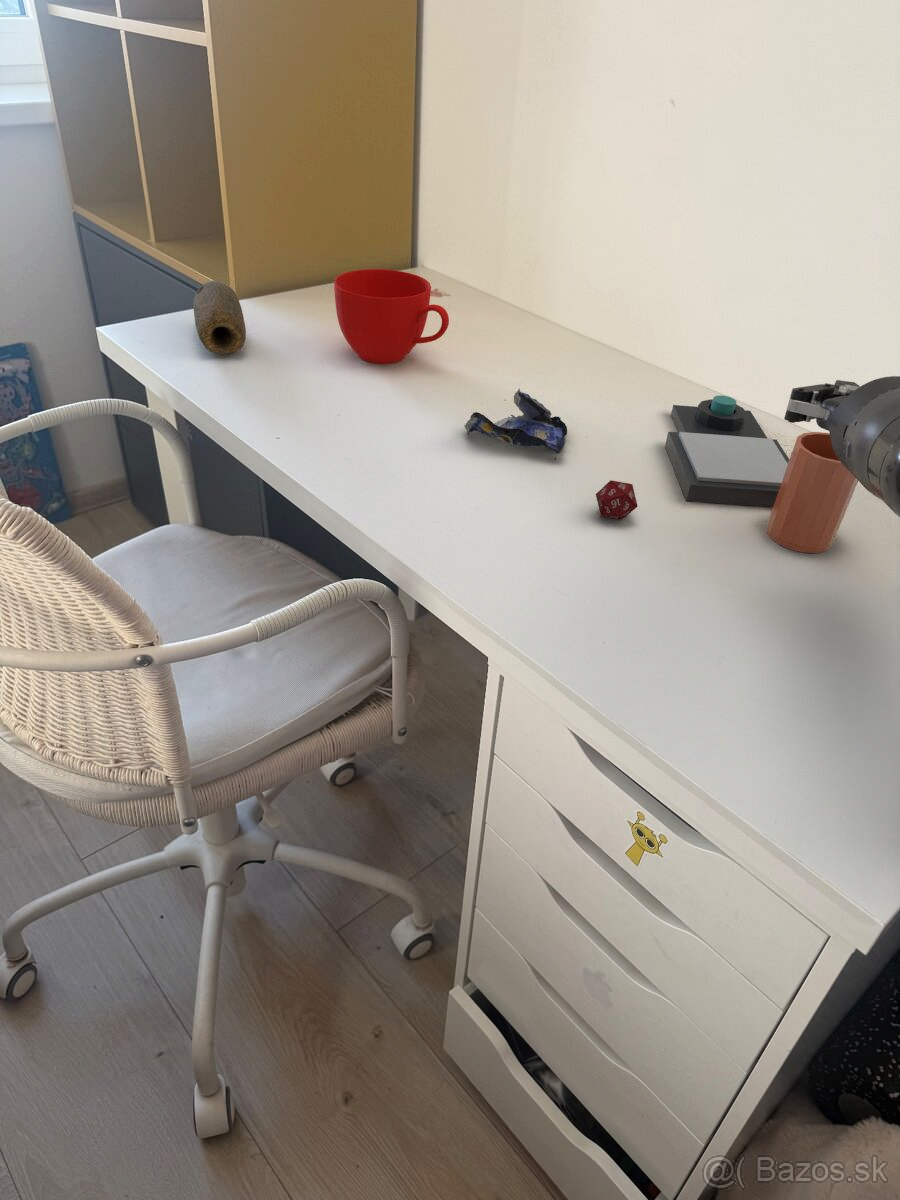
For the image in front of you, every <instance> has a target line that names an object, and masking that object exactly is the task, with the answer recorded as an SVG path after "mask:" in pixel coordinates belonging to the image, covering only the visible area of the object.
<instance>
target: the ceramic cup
mask: <svg viewBox="0 0 900 1200" xmlns="http://www.w3.org/2000/svg"><path fill="white" fill-rule="evenodd" d="M333 282H334V283H333V288H334V289H333V290H334V303H335V310H336V311H335V312H336V316H337V317H336V318H337V321H338V322H337V323H338V325H339V328H340V331H341V333H342V335H343V338H344V339H345V341H346V342H347V344H348V345H349V346H350V348H351V349H352V350H353V351H354V352H355V354H356V355H357V356H358V358H359V359H360V360H362V361H364V362H367V363H371V364H377V365H390V364H397V363H399V362H402V361H403V360H405V358H406V356H407V355H409V354H410V352H411V351H412V350H413V349H414V348H415V346H417V345H418V344H427V343H431V342H435V341H436V340H439V339H440V338H442V337H443V336H444V334H445V333H446V332H447V330H448V328H449V325H450V317H449V313H448V312H447V310H446V308H445V307H443V306H441V305H439V304H431V303H430V302H431V295H432V294H431V292H432V286H431V283H430V282H429V281H428V280H427V279H426V278H424V277H422V276H420V275H417V274H414V273H411V272H406V271H401V270H395V269H384V268H366V269H356V270H351V271H348V272H344V273H342V274H339V275H338V276H337V277H336V278H335V279H334V281H333ZM429 312H436V313H438V315H439V317H440V319H441V325H440V328H439V330H438V331H437V332H436V333H435V334H432V335H429V336H422V335H423V332H424V330H425V327H426V323H427V318H428V315H429Z"/></svg>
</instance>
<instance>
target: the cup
mask: <svg viewBox="0 0 900 1200" xmlns="http://www.w3.org/2000/svg"><path fill="white" fill-rule="evenodd" d="M858 483H859V481H858V480H857V479H856V478H855V477H854V476H853V475H852V474H851V472H850V471H849V470H848V469H847V468H846V467H845V466H844V465H843V464H842V463H841V462H840V460H839V459H838V458H837V456H836V454H835V452H834V450H833V447H832V443H831V438H830V433H829V432H821V431H809V432H803V433H801V434H799V435H797V437H796V439H795V442H794V445H793V448H792V451H791V454H790V456H789V462H788V465H787V468H786V470H785V473H784V476H783V479H782V482H781V485H780V488H779V491H778V493H777V496H776V499H775V502H774V505H773V507H771V511H770V514H769V516H768V520H767V523H766V527H765V531H766V533H767V535H768V537H769V538H770V539H771V540H772V541H774V542H775V543H776V544H779V545H780V546H782V547H784V548H786V549H788V550H789V549H790V551H791V550H792V551H795V552H799V553H805V554H819V553H823V552H827V551H828V550H829V549H830V548H831V547H832V545H833V543H834V541H835V539H836V536H837V534H838V531H839V529H840V527H841V524H842V522H843V519H844V517H845V514H846V512H847V510H848V507H849V505H850V502H851V500H852V498H853V495H854V492H855V490H856V488H857V485H858Z"/></svg>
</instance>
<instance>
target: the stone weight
mask: <svg viewBox="0 0 900 1200" xmlns="http://www.w3.org/2000/svg"><path fill="white" fill-rule="evenodd" d="M193 297H194V298H193V306H192V307H193V319H194V325H195V328H196V332H197V336H198V338H199V340H200V342H201V344H202V345H203V346H204V348H205V349H206V350H207V351H209V352H211V353H213V354H219V355H227V354H234V353H237V352H238V351H240V350H241V349H242V348H243V347H244V346H245V342H246V338H247V337H246V336H247V330H246V329H247V328H246V322H245V317H244V313H243V309H242V305H241V302H240V299H239V297H238V296H237V294H236V292H235V290H234V289H233V288H232V287H231V286H229V285H227V284H226V283H225V282H223V281H219V280H209V281H206V282H204V283H203V284H201V286H199V288H198V289H197V290H196V292H195V294H194V296H193Z"/></svg>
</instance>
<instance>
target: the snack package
mask: <svg viewBox="0 0 900 1200" xmlns="http://www.w3.org/2000/svg"><path fill="white" fill-rule="evenodd" d="M504 401H507V400H506V399H504ZM513 403H514V405H516V408H517V409H518V410H519V411H520V412H521V413H522V415H517V416H515V415H514V414H510V416H507V417H505V418H502V419H500V420H497V421H496V422H495V423H494V422H493V421H492V420H490V419H489V418H488V417H487V416H486V415H484V414H483V413H480V412H477V411H475V412H472V414H471V415H470V417H469V419H468V420H467V421H466V423H464V424H463V426H464V428H465V430H466V435H468V436H469V435H470V433H473V432H477V433H479V434H482V435H484V436H487V437H491V438H495V439H497V440H499V441H503V442H505V443H508V444H510V445H513V446H520V447H545V448H547V449H549V450H551V451H553V452H555V453H556V454H560V453H561V451H562V450H563V448H564V447H565V438H566V436H567V434H568V426H567V425H566V423H565V422H564V421H563V420H562V419H561V417H560V416H556V415H555V416H552V413H551V411H550V409H548V408H547V407H545V405H544V404H543V403H541V402H539V401H538V400H537V399H536V398H533V397H531V396H530V394H528V393H526V392H523V391H521V389H520V388H518V390H517V391H516V392H515V393H514V395H513ZM551 416H552V417H551ZM556 459H557V457H555V458H554V460H556Z"/></svg>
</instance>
